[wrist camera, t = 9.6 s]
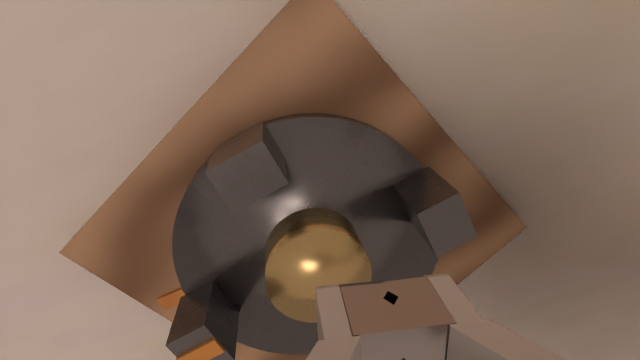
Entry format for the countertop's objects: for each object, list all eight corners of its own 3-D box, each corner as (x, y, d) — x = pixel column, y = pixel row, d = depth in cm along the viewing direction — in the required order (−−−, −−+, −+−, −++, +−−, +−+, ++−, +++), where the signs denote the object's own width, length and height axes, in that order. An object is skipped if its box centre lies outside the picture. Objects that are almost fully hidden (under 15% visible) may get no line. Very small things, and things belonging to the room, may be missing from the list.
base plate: (514, 217, 29) (529, 229, 27) (307, 390, 33) (310, 409, 31) (309, -21, 21) (312, -24, 20) (70, 240, 25) (56, 255, 24)
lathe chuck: (375, 53, 22) (408, 61, 17) (471, 274, 28) (515, 327, 23) (111, 199, 23) (68, 248, 18) (263, 379, 29) (263, 451, 24)
